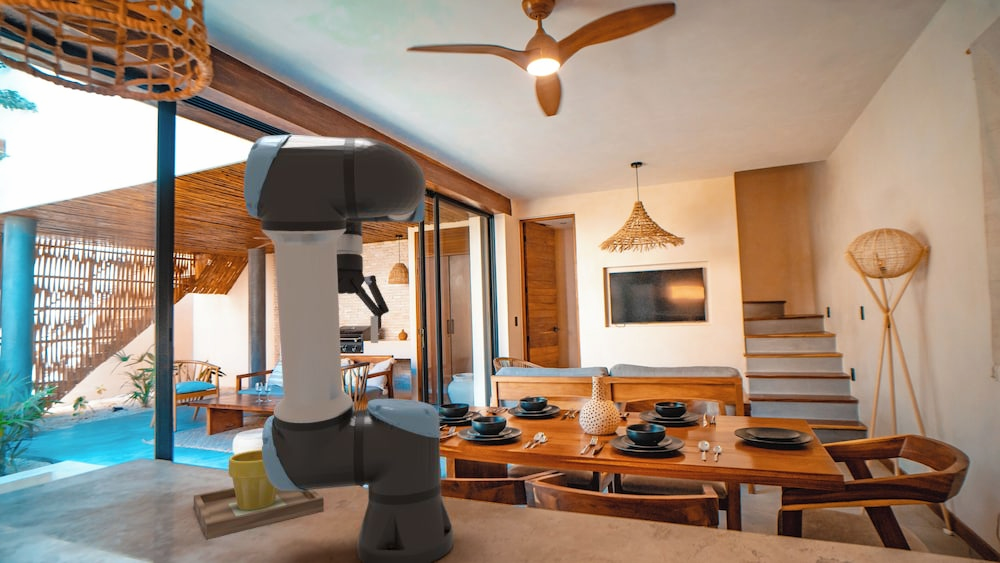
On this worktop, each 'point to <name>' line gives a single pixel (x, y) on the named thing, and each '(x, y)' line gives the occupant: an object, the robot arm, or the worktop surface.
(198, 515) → the walnut tray
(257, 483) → the plant pot
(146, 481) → the worktop surface
